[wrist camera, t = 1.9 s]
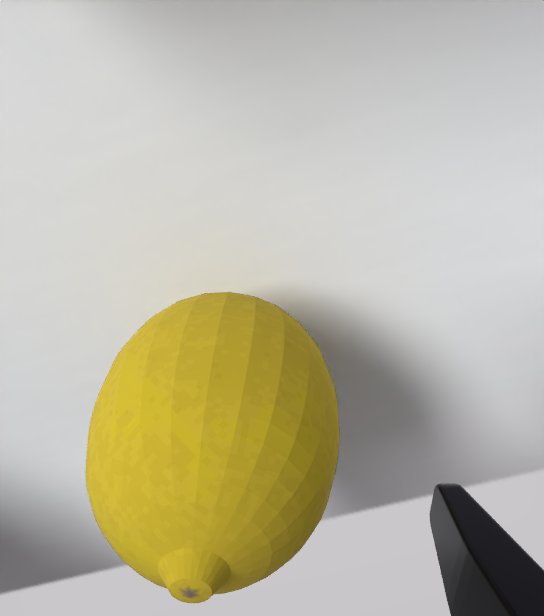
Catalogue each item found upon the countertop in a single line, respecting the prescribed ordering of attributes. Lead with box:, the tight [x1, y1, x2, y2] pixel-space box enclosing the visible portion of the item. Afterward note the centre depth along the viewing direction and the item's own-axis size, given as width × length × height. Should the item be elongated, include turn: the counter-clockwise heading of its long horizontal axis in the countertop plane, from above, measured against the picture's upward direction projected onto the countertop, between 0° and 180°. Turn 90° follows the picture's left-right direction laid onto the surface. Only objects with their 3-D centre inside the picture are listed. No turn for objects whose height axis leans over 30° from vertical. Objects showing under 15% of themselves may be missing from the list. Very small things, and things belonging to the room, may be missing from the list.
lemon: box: [86, 292, 339, 603], centre depth 11 cm, size 6×6×8 cm
